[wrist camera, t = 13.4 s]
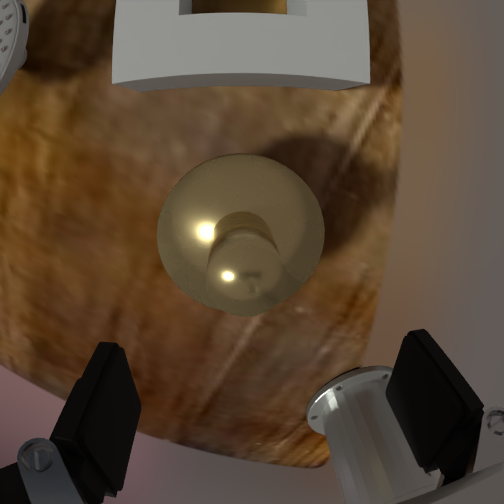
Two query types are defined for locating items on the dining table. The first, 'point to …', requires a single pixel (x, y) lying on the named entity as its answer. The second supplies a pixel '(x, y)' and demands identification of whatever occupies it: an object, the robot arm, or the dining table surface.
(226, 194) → the end cover
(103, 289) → the dining table surface
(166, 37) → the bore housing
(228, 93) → the dining table surface
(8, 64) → the showerhead
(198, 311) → the dining table surface
